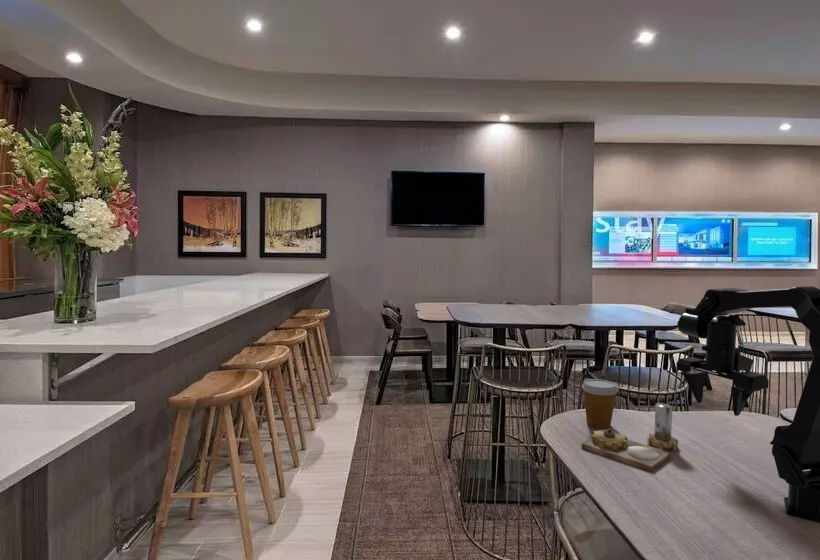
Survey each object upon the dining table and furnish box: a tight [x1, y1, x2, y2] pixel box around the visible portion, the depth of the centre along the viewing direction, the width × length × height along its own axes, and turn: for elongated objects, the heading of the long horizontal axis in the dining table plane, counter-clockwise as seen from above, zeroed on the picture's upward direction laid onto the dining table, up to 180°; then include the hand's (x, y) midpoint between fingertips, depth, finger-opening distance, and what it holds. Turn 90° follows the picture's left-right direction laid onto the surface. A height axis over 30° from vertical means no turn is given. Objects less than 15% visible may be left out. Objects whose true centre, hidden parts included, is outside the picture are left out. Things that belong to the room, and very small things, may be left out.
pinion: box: [646, 402, 679, 452], centre depth 122 cm, size 7×7×10 cm
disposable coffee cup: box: [581, 378, 619, 429], centre depth 137 cm, size 10×10×12 cm
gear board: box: [581, 427, 672, 472], centre depth 119 cm, size 17×11×5 cm, turn 41°
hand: (717, 408), depth 112 cm, fingers open, 9 cm apart
